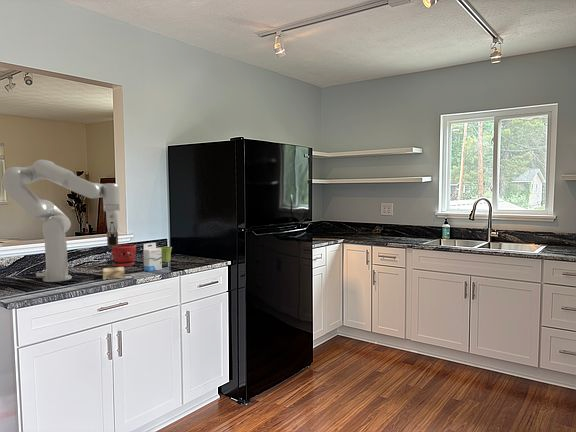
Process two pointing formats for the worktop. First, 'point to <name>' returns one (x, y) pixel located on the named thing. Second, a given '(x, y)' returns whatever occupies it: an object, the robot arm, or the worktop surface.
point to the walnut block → (116, 239)
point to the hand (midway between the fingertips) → (112, 243)
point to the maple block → (113, 273)
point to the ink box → (152, 257)
